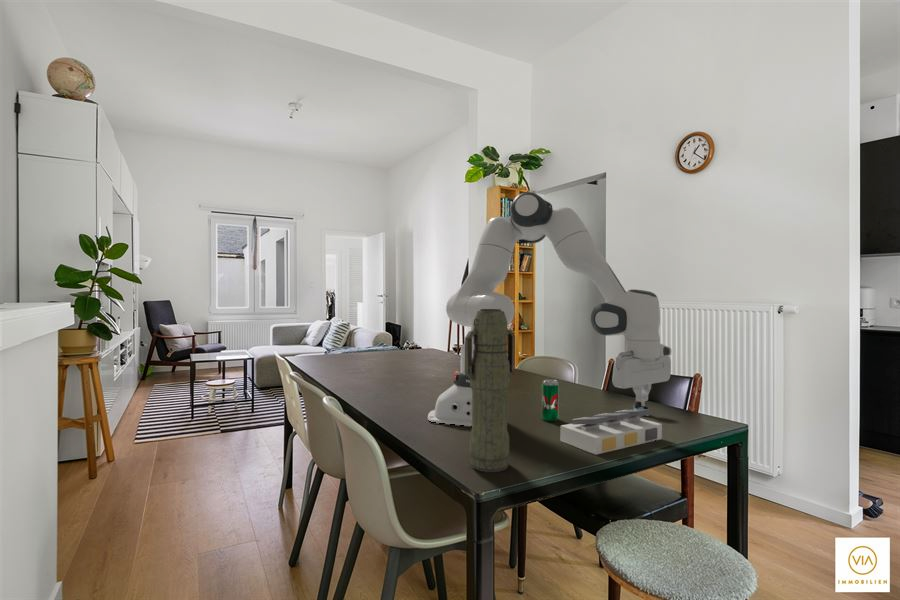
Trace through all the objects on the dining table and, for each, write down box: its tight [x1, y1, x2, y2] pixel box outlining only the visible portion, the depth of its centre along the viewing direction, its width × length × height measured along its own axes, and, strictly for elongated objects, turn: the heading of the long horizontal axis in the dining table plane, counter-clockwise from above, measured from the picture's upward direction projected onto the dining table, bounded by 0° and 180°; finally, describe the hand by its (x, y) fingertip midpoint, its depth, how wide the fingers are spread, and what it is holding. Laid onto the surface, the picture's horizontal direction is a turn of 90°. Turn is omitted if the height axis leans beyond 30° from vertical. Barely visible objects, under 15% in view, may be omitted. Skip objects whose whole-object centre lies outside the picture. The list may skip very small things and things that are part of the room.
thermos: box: [464, 309, 516, 473], centre depth 104 cm, size 9×12×35 cm
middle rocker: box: [592, 412, 631, 420], centre depth 123 cm, size 5×8×1 cm, turn 30°
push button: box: [631, 387, 650, 417], centre depth 149 cm, size 7×5×10 cm
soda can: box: [541, 378, 560, 422], centre depth 142 cm, size 5×5×12 cm
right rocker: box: [613, 408, 652, 417], centre depth 127 cm, size 5×8×1 cm, turn 30°
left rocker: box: [571, 416, 609, 425], centre depth 119 cm, size 5×8×1 cm, turn 30°
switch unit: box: [559, 416, 663, 455], centre depth 123 cm, size 25×12×5 cm, turn 120°
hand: (641, 400), depth 125 cm, fingers closed
